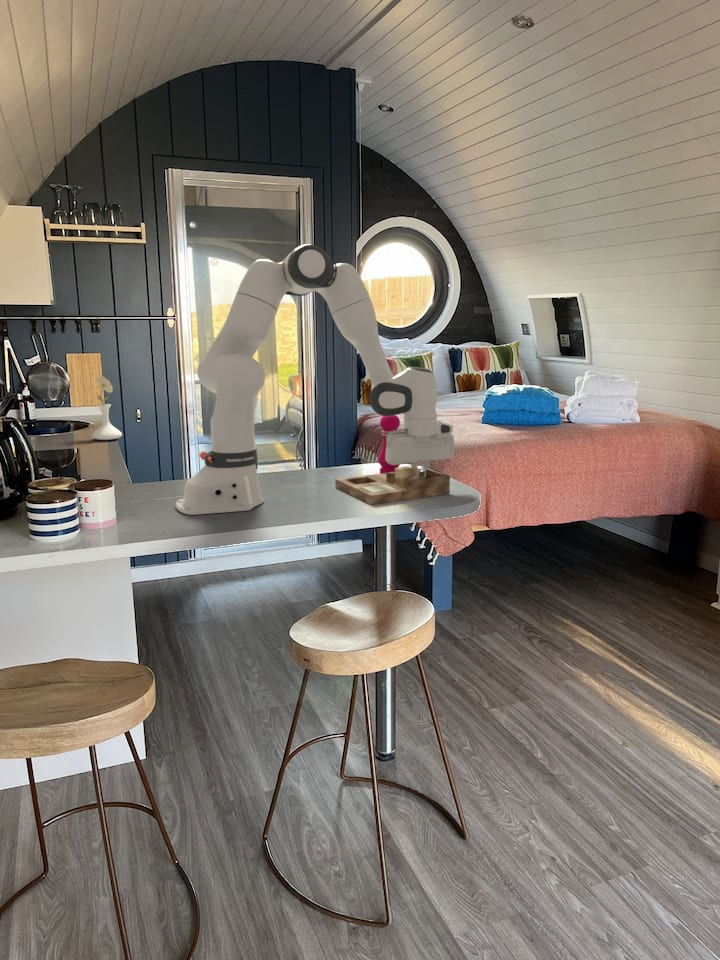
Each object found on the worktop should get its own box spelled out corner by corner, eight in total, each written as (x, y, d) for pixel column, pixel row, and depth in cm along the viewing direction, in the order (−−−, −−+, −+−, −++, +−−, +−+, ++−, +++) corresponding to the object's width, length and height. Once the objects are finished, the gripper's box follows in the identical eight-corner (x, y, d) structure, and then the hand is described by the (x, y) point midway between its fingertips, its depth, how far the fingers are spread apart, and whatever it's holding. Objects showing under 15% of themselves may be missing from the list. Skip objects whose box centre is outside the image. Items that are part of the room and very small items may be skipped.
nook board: (371, 504, 192) (370, 486, 191) (335, 487, 211) (335, 470, 210) (449, 493, 202) (449, 476, 201) (408, 478, 222) (408, 461, 221)
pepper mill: (402, 471, 231) (402, 407, 227) (401, 476, 224) (401, 410, 220) (379, 471, 232) (378, 407, 227) (377, 476, 225) (376, 410, 220)
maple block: (403, 487, 200) (403, 470, 199) (395, 484, 204) (395, 467, 203) (417, 485, 202) (417, 468, 201) (409, 481, 206) (409, 465, 205)
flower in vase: (125, 440, 294) (120, 376, 289) (95, 443, 289) (89, 378, 283) (118, 435, 305) (112, 374, 300) (89, 438, 300) (83, 375, 294)
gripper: (392, 432, 194) (392, 484, 197) (458, 426, 203) (457, 475, 206) (380, 429, 200) (381, 479, 203) (445, 423, 208) (444, 471, 211)
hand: (420, 477), depth 204 cm, fingers closed
